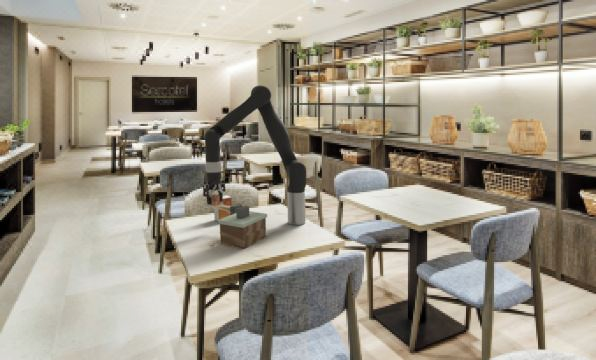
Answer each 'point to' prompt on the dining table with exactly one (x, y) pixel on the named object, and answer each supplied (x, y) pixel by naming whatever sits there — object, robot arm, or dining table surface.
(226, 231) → the wooden box
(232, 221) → the lid
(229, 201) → the small box
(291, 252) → the dining table surface
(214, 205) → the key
